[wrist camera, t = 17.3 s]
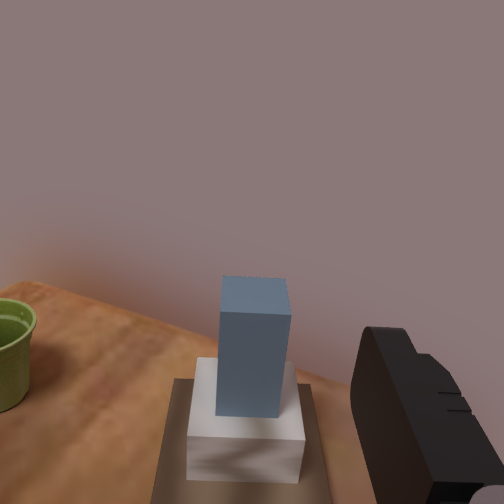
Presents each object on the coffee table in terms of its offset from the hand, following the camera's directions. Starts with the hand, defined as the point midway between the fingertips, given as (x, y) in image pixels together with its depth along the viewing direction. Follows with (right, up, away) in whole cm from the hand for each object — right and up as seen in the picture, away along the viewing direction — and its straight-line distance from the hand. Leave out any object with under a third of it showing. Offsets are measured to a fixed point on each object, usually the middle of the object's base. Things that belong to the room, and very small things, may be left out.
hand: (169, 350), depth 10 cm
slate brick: (+1, -10, +29) cm, 31 cm away
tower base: (+1, -17, +33) cm, 37 cm away
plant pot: (-25, -13, +38) cm, 47 cm away
